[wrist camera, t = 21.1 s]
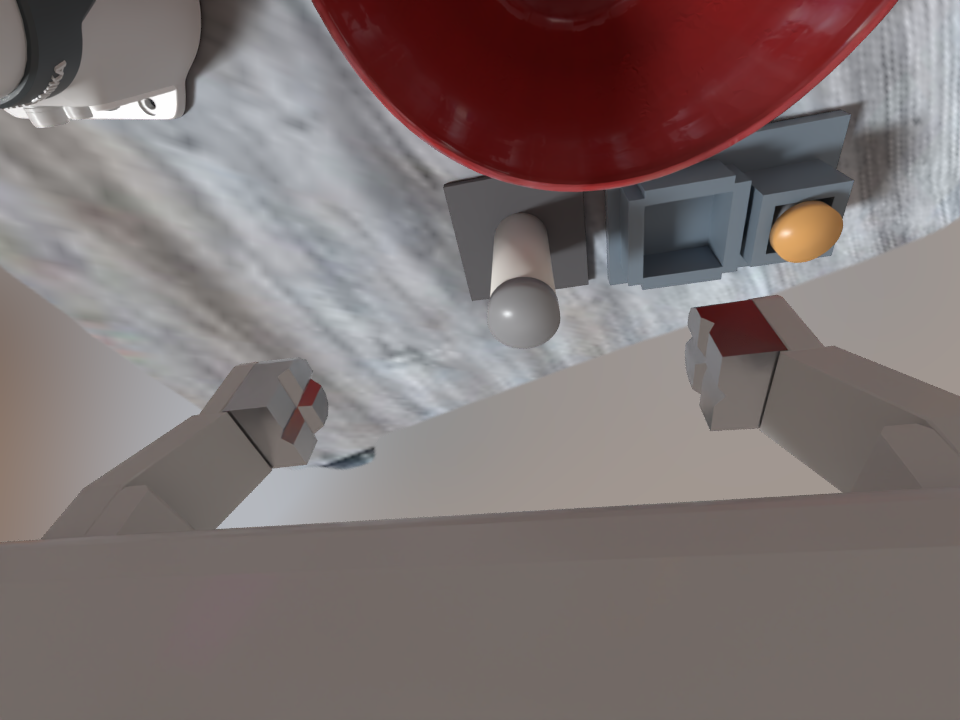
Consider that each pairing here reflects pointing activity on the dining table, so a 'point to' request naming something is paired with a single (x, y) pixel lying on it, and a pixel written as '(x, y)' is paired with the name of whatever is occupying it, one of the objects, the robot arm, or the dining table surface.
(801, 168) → the grey double open block
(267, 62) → the dining table surface
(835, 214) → the brown egg
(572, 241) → the mat
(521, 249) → the cartridge
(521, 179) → the mixing bowl
